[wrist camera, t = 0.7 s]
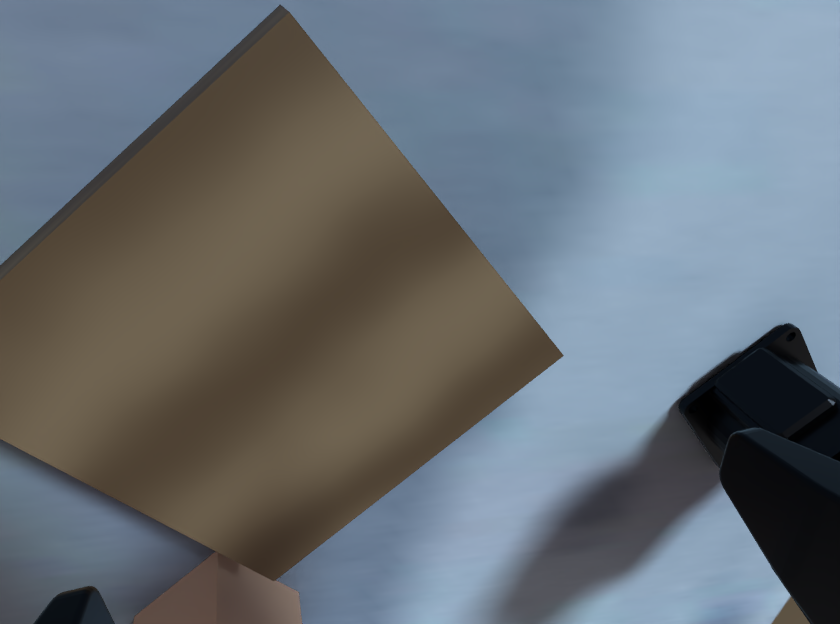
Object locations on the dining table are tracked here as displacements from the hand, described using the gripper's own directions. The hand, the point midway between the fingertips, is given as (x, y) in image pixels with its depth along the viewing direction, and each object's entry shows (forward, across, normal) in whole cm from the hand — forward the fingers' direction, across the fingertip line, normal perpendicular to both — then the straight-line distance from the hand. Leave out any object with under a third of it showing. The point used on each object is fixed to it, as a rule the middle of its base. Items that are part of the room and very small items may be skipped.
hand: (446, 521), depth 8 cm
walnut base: (+13, +2, +4) cm, 14 cm away
